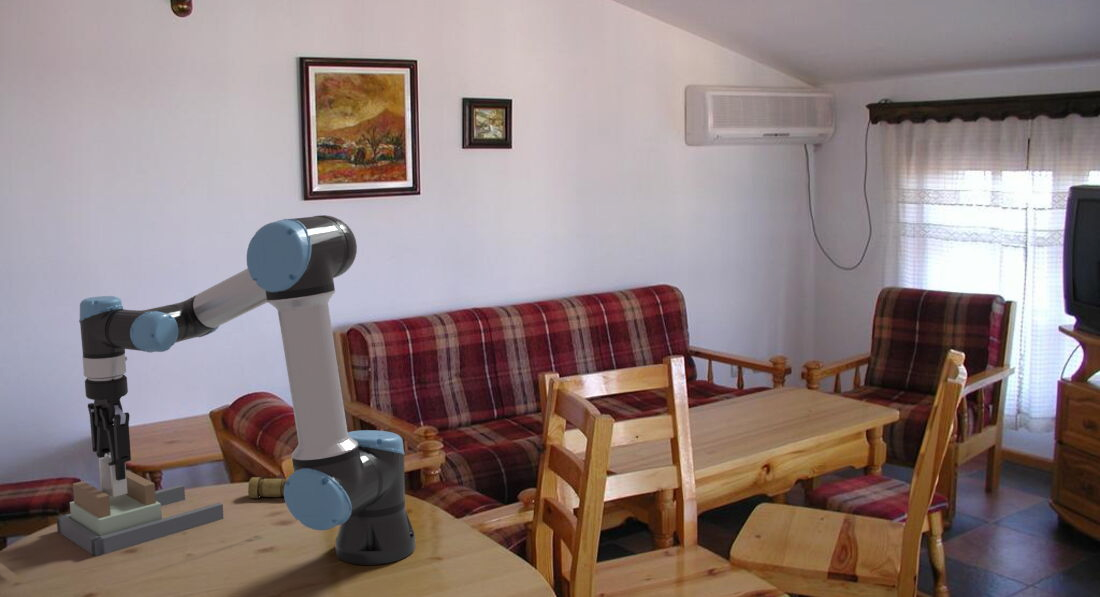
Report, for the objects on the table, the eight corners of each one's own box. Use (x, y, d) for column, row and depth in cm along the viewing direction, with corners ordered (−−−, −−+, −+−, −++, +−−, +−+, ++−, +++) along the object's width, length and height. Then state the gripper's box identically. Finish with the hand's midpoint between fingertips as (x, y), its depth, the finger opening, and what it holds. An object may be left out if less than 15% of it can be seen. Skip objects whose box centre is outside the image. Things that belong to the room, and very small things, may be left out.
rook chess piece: (114, 498, 196) (111, 458, 194) (96, 495, 197) (93, 456, 196) (131, 490, 200) (128, 451, 198) (113, 487, 201) (110, 449, 200)
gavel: (274, 456, 240) (316, 456, 240) (275, 475, 241) (316, 475, 241) (247, 480, 219) (293, 480, 219) (248, 500, 220) (293, 500, 220)
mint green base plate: (162, 532, 199) (159, 484, 198) (101, 550, 191) (98, 500, 189) (131, 514, 209) (128, 468, 207) (72, 531, 200) (68, 483, 199)
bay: (223, 523, 207) (222, 504, 206) (96, 561, 188) (94, 541, 187) (181, 502, 219) (180, 484, 218) (58, 536, 200) (56, 517, 200)
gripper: (145, 380, 192) (152, 497, 195) (105, 366, 203) (113, 477, 207) (105, 387, 186) (114, 507, 190) (67, 372, 198) (76, 486, 202)
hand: (114, 491), depth 198 cm, fingers closed on rook chess piece, 4 cm apart
